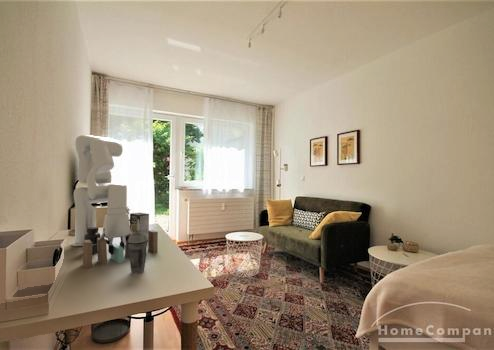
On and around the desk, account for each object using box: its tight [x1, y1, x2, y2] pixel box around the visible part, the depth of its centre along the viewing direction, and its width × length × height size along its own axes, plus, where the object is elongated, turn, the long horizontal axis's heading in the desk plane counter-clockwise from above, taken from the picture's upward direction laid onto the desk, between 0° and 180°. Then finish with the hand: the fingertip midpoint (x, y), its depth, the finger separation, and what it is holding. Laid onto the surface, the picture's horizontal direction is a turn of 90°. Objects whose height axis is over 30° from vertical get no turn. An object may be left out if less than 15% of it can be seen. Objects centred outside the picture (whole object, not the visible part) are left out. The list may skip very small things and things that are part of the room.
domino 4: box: [147, 229, 159, 254], centre depth 117 cm, size 6×2×10 cm, turn 46°
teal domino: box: [110, 243, 125, 264], centre depth 105 cm, size 6×2×10 cm
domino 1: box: [82, 240, 93, 269], centre depth 98 cm, size 6×2×10 cm, turn 46°
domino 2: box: [96, 238, 108, 266], centre depth 101 cm, size 6×2×10 cm, turn 46°
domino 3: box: [124, 235, 130, 259], centre depth 110 cm, size 6×2×10 cm, turn 46°
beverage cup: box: [128, 219, 148, 275], centre depth 92 cm, size 7×7×20 cm
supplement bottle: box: [84, 226, 102, 255], centre depth 115 cm, size 7×7×12 cm
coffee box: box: [129, 212, 150, 237], centre depth 135 cm, size 9×6×16 cm
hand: (116, 252), depth 106 cm, fingers open, 3 cm apart
